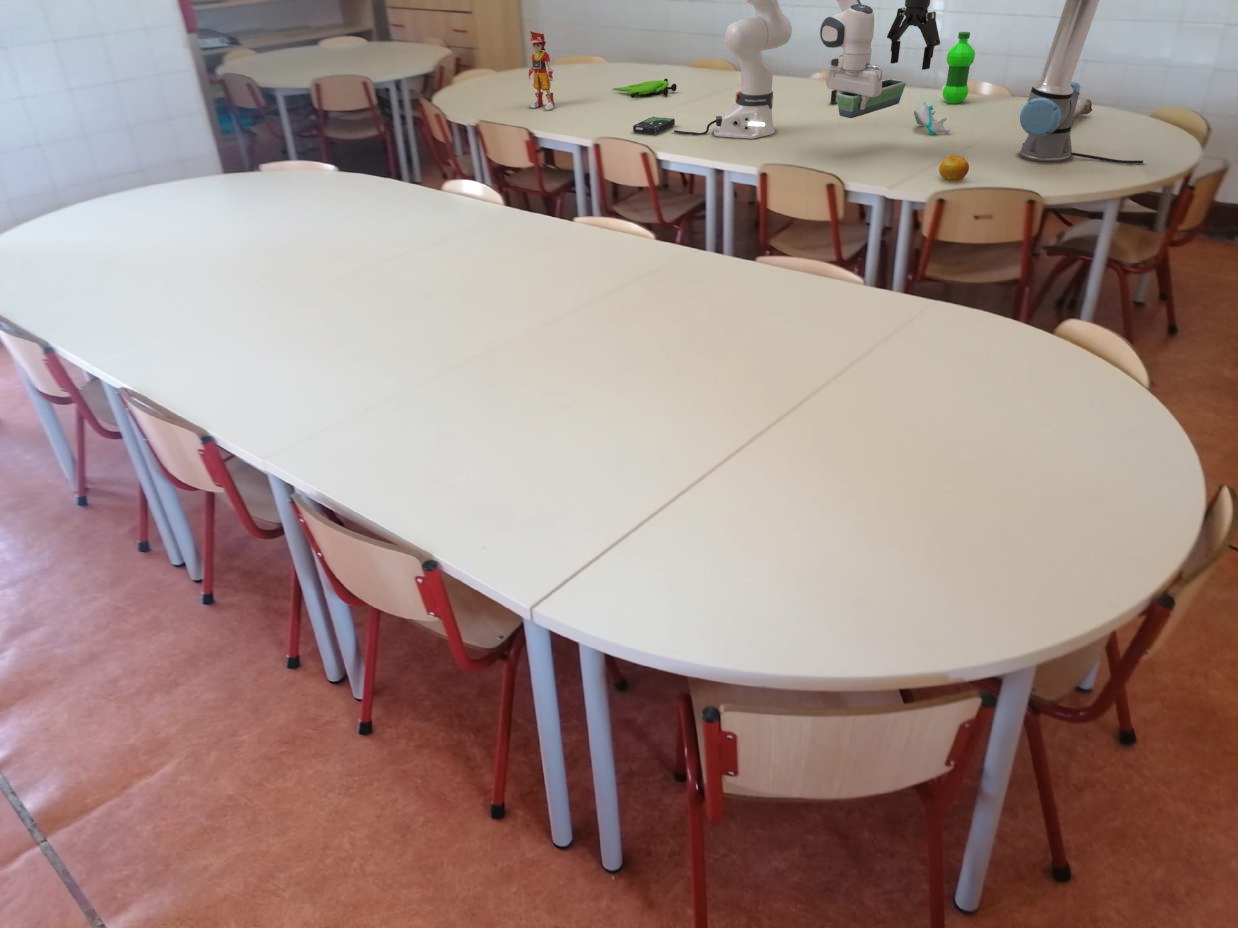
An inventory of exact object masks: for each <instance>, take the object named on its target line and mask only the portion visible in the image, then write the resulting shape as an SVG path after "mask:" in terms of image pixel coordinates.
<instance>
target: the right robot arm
mask: <svg viewBox="0 0 1238 928" xmlns="http://www.w3.org/2000/svg"><path fill="white" fill-rule="evenodd" d="M1099 3H1100V0H1065V2H1064V5H1063V8H1062V12H1061V14H1060V18H1059V21H1058V23H1057V27H1056V30H1055V34H1054V36H1053V39H1052V42H1051V45H1050V48H1049V51H1048V54H1047V57H1046V60H1045V63H1044V67H1043V70H1042V73H1041V76H1040V78H1039V80H1038V81H1036V82H1034V83H1033V84H1032V85H1031V86H1032V87H1031V89H1030V92H1029V96H1028V99H1027V101H1026V102H1025V104H1024V105H1023V107H1022V108H1021V111H1020V114H1019V123H1020V127H1021V128H1022V129H1023V131H1024V132H1025V133H1027V134H1028V135H1027V137H1026V139H1025V141H1024V142H1023V143H1022V146H1021V148H1020V153H1019V156H1020V157H1021V158H1023V159H1025V160H1027V161H1031V162H1036V163H1062V162H1066V161H1069V160H1070V159H1071V157H1072V156H1073V157H1078V158H1079V157H1080V158H1086V159H1092V160H1097V161H1104V162H1109V163H1115V164H1144V160H1127V159H1125V160H1124V159H1115V158H1109V157H1103V156H1097V155H1091V154H1085V153H1078V152H1073V149H1072V139H1071V130H1072V126H1073V122H1074V120H1073V118H1074V113H1075V109H1076V105H1077V100H1078V98H1079V96H1080V90H1081V85H1080V83H1078V82H1076V81H1073V78H1074V75H1075V72H1076V69H1077V66H1078V63H1079V60H1080V57H1081V54H1082V51H1083V49H1084V46H1085V43H1086V40H1087V38H1088V34H1089V31H1090V29H1091V25H1092V23H1093V20H1094V17H1095V14H1096V12H1097V9H1098V5H1099ZM930 5H931V0H904V7H900V8H897V12H896V16H895V18H894V20H893V22H892V25H891V27H890V29H889V30H888V33H887V35H886V38H887V39H890V41H891V43H890V44H891V45H890V52H891V53H890V54H891V55H890V64H891V65H893V64H898V63H899V57H900V49H901V37H903V35H904V33H906V31H907V30H908V28H909V27H910V26H913V27H917V29H919V30H920V33H921V35H922V37H923V40H924V42H925V45H926V46H925V47H924V50H923V56H922V57H923V58H922V65H921V70H922V71H923V70H925V71H926V70H930V69H931V62H932V59H933V57H934V51H935V47H936V46H940V45H941V40H940V35H939V29H938V25H937V19H936V17H937V12H936V11H930V12H929V7H930Z"/></svg>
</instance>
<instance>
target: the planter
mask: <svg viewBox="0 0 1238 928" xmlns="http://www.w3.org/2000/svg"><path fill="white" fill-rule="evenodd" d="M906 85H907V82H906V81H904V80H900V79H894V78H886V79H882V92H881V94H880V95H879V96H877V97H869V99H868V101H867V102H866V103H865V109H863V110H860V109H858V104H859V103H861V102H862V100H863V99H862V95H858V94H853V93H848V92H841V93H838V94H837V101H838V102H837V109H838V115H839V116H840V117H843V118H847V119H854V118H857V117H861V116H864V115H867V114H871V113H873V112H874V113H875V112H877V111H880V110H883V109H886V108H890V107H894V106H896V105H899V104H900V102H901V99H902V95H903V93H904V90H905V87H906Z"/></svg>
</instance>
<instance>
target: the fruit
mask: <svg viewBox="0 0 1238 928" xmlns="http://www.w3.org/2000/svg"><path fill="white" fill-rule="evenodd" d="M969 171H970V164H969V162H968V160H967V159H966V158H965V157H964V156H961V155H957V154H955V155H949V156H947V157H945V158H943V159H942V160H941V162H940V164H939V167H938V173H939V176H940V177H941V178H942V179H944V180H945V181H949V182H959V181H960V180H963V179H964V178H965V177H966V176H967V175H968V173H969Z"/></svg>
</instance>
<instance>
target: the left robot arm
mask: <svg viewBox="0 0 1238 928" xmlns="http://www.w3.org/2000/svg"><path fill="white" fill-rule="evenodd" d="M745 1H746V2H747V3H748V4H750V5H751V6H753V8H754V11H755V16H754V17H748V18H741V19H738V20H737V21H734V22H732V23H730V24H728V26H727V28H726V30H725V34H724V41H725V46H726V48H727V49H728V50H729V51H730V53H732V54H733V55H734V56H735V57H736V59H737V61H738V64H739V67H740V75H741V90H737V91H736V92H735V103H734V104H733V105H732V106H730V107H729V108H727V110H726V111H724V113H722V114H721V115H716V116H715V119H714V120H712V121H710V122H709V123H708V124H707V125H706V129H705V131H702V132H695V131H684V130H683V131H682V130H676V129H674V130H673V133H674V134H682V135H694V136H702V135H707V133H708V132H709V131H710V127H711V126H712V125H714V124H715V128H714V130H713V135H714V136H715V137H721V138H722V137H723V138H736V139H737V138H738V139H750V140H753V139H754V140H755V139H758V138H761V137H766V136H770V135H773V134H774V133H775V132H776V131H775V127H774V120H773V107H774V91H773V77H774V76H773V75H774V71H773V68H772V67H771V65H770V64H769V63H768V62H766V61H764V60H763V57H762V51H767V50H773V49H777V48H780V47H783V46H784V45H786V44H787V43H788V42H789V41H790V39H791V37H792V33H793V27H792V22H791V21H790V19H789V17H787V16H786V15H785V13H783V11H782V9H781V7H780V4H779V0H745ZM836 2H837V4H838V6H839V8H840V10H841V12H839V13H836V14H832V15H830V16H827V17H826V18H824V19H823V21H822V23H821V24H820V28H819V36H820V41H821V42H822V45H824V46H825V47H827V48H829V49H830V48H831V49H836V48H840V47H841V48H842V55H839V56H835V57H832V58H830V59H829V60H828V65H829V66H828V69H827V72H826V74H827V75H826V81H825V84H826V87H827V89H828V90H832V91H833V90H837V94H838V93H841V92H848V93H853V94H858V95H862V99H863V100H862V102H861V103H859V104H858V109H860V110H863V109H865V103H866V102H867V101H868V99H869V97H877V96H879V95H880V94H881V92H882V81H883V70H882V68H881V67H880V66H879V65H876V64H871V61H872V60H871V59H872V42H873V39H874V32H875V13H874V8H872V7H871V6H869V5H866V4H862V2H861V1H860V0H836Z"/></svg>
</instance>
